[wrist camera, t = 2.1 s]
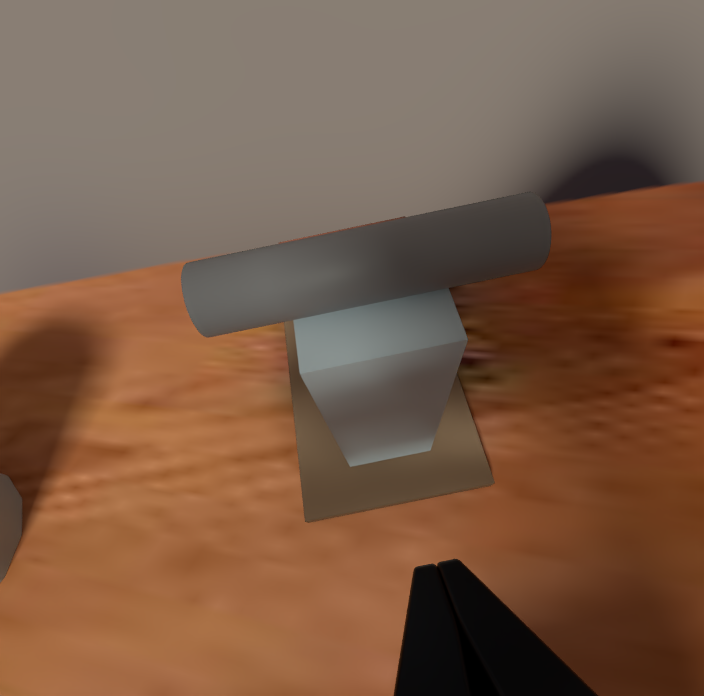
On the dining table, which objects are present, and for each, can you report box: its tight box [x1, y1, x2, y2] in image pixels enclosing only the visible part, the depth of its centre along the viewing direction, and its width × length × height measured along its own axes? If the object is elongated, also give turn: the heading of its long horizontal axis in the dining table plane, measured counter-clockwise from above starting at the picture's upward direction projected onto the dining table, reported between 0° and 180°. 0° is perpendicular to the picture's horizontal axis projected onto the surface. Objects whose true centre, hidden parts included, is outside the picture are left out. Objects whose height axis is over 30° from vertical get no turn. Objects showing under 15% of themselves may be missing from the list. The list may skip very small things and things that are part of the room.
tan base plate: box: [278, 217, 495, 523], centre depth 19 cm, size 14×9×5 cm, turn 10°
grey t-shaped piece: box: [181, 192, 551, 467], centre depth 14 cm, size 4×8×13 cm, turn 100°
